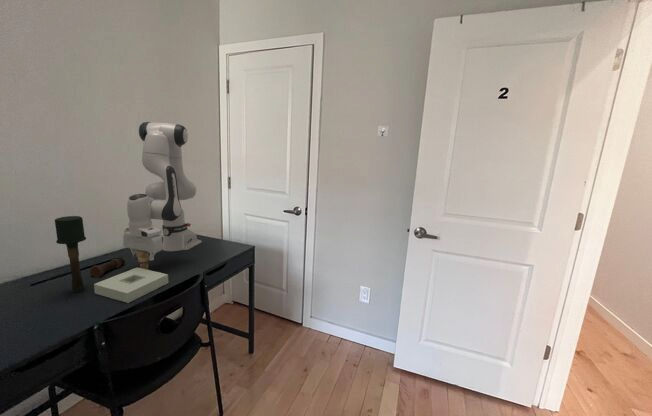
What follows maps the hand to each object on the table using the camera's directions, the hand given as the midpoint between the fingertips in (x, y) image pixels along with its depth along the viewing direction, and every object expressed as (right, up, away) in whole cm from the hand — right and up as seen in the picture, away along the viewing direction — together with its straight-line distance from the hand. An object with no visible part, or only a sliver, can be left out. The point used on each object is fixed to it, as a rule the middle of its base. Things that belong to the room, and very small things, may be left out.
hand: (143, 258), depth 130 cm
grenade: (-15, -10, -18) cm, 25 cm away
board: (+5, -10, -14) cm, 17 cm away
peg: (-1, -7, +2) cm, 7 cm away
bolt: (-17, -6, +2) cm, 18 cm away
